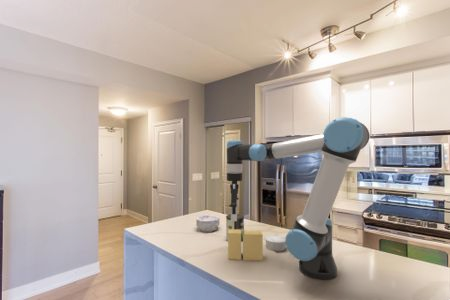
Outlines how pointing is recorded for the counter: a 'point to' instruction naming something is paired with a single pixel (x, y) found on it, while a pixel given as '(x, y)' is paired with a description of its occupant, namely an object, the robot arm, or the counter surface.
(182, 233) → the counter surface
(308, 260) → the robot arm
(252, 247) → the tall yellow box
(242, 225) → the coffee can
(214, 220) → the paper bowls
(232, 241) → the stub
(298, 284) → the counter surface
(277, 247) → the ramekin
